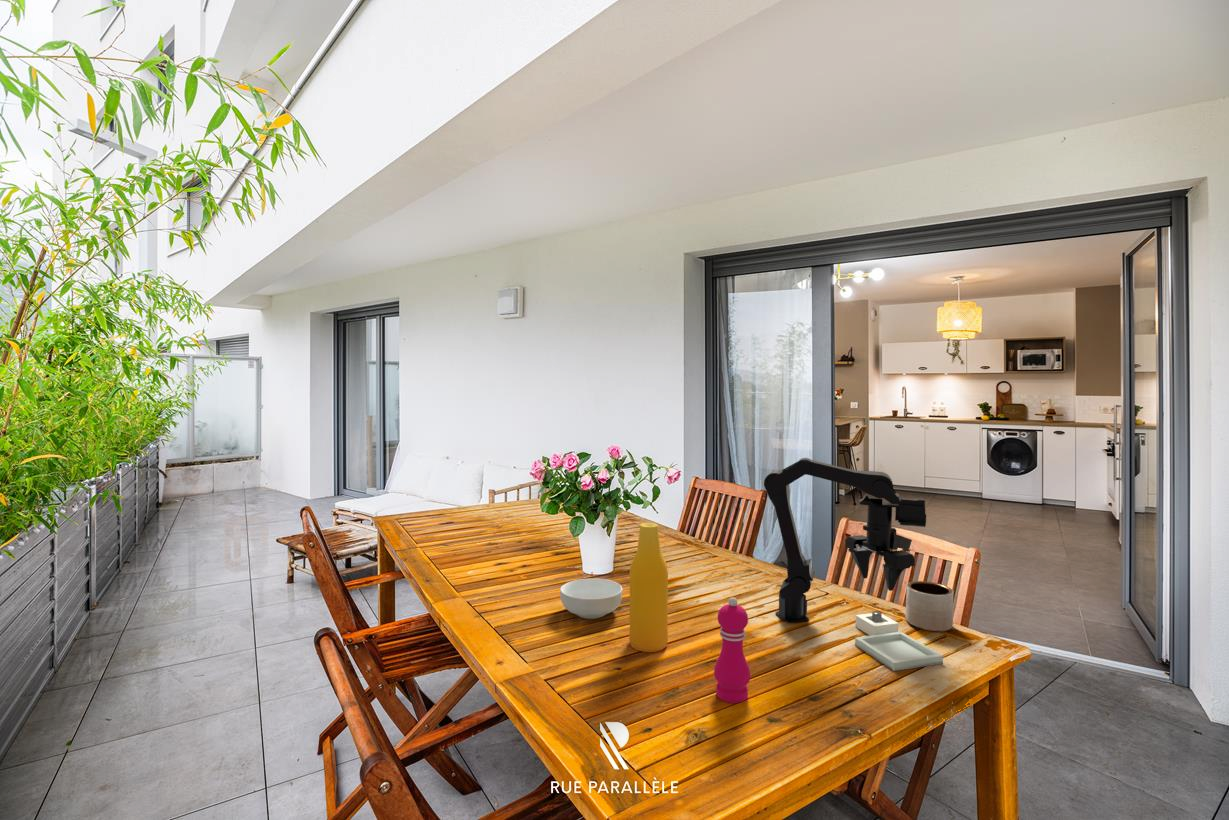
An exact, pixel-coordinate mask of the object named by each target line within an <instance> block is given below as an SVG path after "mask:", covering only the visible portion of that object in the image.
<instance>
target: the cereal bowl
mask: <svg viewBox="0 0 1229 820" xmlns="http://www.w3.org/2000/svg"><path fill="white" fill-rule="evenodd" d="M623 591H624V590H623V586H622V585H621V584H620V583H619V582H616V581H614V580H610V579H606V578H605V579H604V578H594V577H593V578H582V579H580V578H579V579H575V580H572V581H571V580H570V581H568V582H566V583H565V584H563V585H562V586H561V587H560V589H559V593H560V595H559V596H560V601H561V604H562V605H563V607H564V608H565V609H566V610H567V611H569V612H570V613H571V614H573V615H576V616H578V617H580V618H583V619H588V620H595V619H596V620H597V619H600V618H602V617H604V616H606V615H608V614H610V613H612V612H614V611H615V610H616V609H617V608H618V607H619V606H620V604H621V602H622V599H623Z"/></svg>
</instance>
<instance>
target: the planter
mask: <svg viewBox="0 0 1229 820" xmlns="http://www.w3.org/2000/svg"><path fill="white" fill-rule="evenodd" d="M905 599H906V600H905V620H906V621H907V623H908V624H910V625H911V626H913V627H915V628H918V629H919V628H920V629H919V630H924V631H927V632H928V631H929V632H935V633H936V632H937V633H939V632H941V633H943V632H947V631H950V630H951V629H952V628H953V626H954V590H953V588H951V587H949V586H947V585H944V584H942V583H938V582H931V581H927V580H926V581H923V580H916V581H910V582H908V583H906V597H905Z"/></svg>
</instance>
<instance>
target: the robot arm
mask: <svg viewBox="0 0 1229 820" xmlns="http://www.w3.org/2000/svg"><path fill="white" fill-rule="evenodd" d="M806 475H807V476H811V477H815V478H819V479H823V480H826V481H831V482H833V483H834V482H835V483H839V484H842V485H847V486H850V487H853V488H855V489H857V490H859V491H861V492H863V493H865V495H864V496H863V497H862V498H860V499H859V505H860V506H861V505H862V506H866V507H867V509H866V511H867V512H866V524H865V525H862V530H863V531H866V535H864V534H863V535H862V534H861V535H858V534H857V535H848V536H847V537H846V538H845V541H844V542H845V543H844V546H845V548H847V550H848V552H849V554H851V556H852V559H853V560H854V562H855V564H856V565H857V568H858V571H859V573H860V575H861V577H862V578H863V579H868V576H869V566H870V557H871V556H872V555H873V554H876V555H879V556H881V557H883V562H884V563H883V564H882V567H883V572H884V573H883V574H884V576H885V582H886V587H887V589H888V591H889V592H892V591H894V589H895V587H896V584H897V582H898V581H899V578H900V577H901V574H902V572H903V571H904V570H906V569H910V568H911V567H915V566H916V557H915V555H914V554H913V553H911V552H909V551H910V549H911V548H910V547H911V544H912V542H913V539H911V538H908V537H905V536H903V535H900V534H897V529H896V528H895V527H893V526H892V525H893V524H892V523H893V508H894V521H895V522H898V523H899V525H900V526H906V527H918V528H919V527H920V528H926V526H927V525H926V524H927V514H926V500H925V499H924V498H905V497H900V494H899V493H898V492H897V491H896V489H894V484H893V480H892V477H890V475H889V474H888V473H886V472H884V471H875V470H856V469H855V470H854V469H851V468H846V467H842V466H838V465H833V464H831V463H827V462H826V463H825V462H821V461H818V460H815V459H810V458H808V457H802V458H800V459H799V460H798V461H796V462H795V463H791V464H790V465H789V466H787V467H785V468H783V469H782V470H781V469H773V470H772V471H771V472H769V473H768V474H767V476H765V478H764V481H763V486H764V489H765V492H766V494H767V496H768V499H769V501H770V502H771V503H772V505H773V507H774V510H775V514H776V518H777V523H778V526H779V529H780V530H779V531H780V533H781V537H782V543H783V546H784V550H785V555H786V559H787V561H786V563H787V564H786V566H787V569H786V571H787V572H786V573H787V577H786V578H785V579H784V580H783V581H782V584H781V585H780V586H781V587H780V589H779V591H778V611H775V615H777V616H778V617H779V618H781V620H784V621H785V622H786V623H796V622H797V623H798V622H804V621H805V622H806V621H809V620H810V617H808V616H807V615H808V600H807V595H806V593H808V592H809V591H810V589H811V586H812V583H813V582H814V578H815V570H814V569H813V565H812V559H811V558H808V559H806V558H805V556H804V554H803V552H802V547H801V543H800V540H799V535H798V532H797V527H796V522H795V519H794V514H793V510H792V506H791V493H790V492H791V487H790V485H791V484H792V483H794V482H795V481H796V480H798V479H800V478H802V477H804V476H806ZM870 496H872V497H870ZM883 499H884V500H885V501H883ZM899 549H900V550H899Z"/></svg>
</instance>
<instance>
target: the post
mask: <svg viewBox="0 0 1229 820" xmlns="http://www.w3.org/2000/svg"><path fill="white" fill-rule="evenodd" d="M871 613H872V621H873V622H874V623H880V622H881V620H882V614H883V613H882V612H880V611H872V612H871Z"/></svg>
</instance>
